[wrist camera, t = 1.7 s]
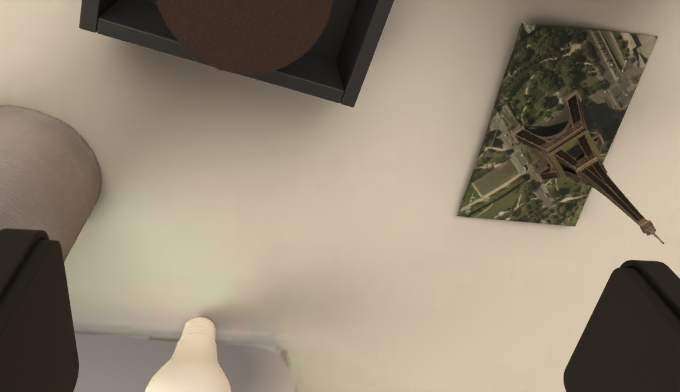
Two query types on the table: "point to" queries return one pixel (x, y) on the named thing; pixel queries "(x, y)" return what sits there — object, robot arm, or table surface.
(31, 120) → the pillar candle
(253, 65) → the deodorant
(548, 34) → the eiffel tower figurine
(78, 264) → the table surface
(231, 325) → the table surface
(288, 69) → the bin
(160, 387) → the lightbulb
